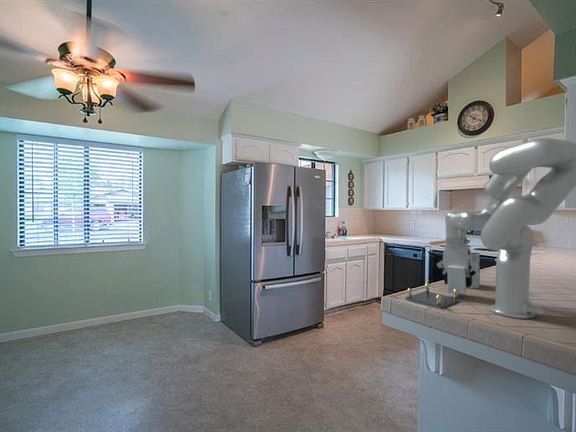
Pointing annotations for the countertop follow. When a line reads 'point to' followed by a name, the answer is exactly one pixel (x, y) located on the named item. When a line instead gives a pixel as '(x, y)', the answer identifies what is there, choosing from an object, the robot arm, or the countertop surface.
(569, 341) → the countertop surface
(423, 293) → the chassis
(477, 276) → the candy bar box
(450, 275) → the skincare box
